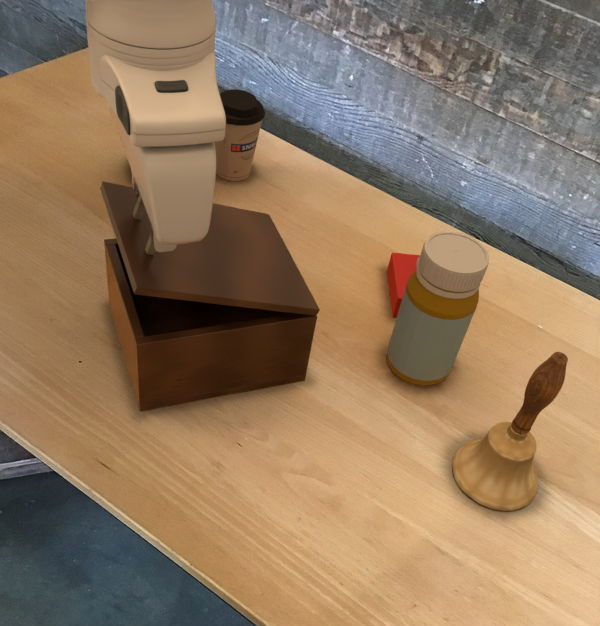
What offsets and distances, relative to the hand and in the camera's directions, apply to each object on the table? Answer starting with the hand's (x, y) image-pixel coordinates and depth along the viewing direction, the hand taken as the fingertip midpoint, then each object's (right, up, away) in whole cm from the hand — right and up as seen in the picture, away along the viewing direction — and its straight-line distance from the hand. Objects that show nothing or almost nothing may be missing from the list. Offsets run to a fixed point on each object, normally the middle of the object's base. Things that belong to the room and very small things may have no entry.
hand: (153, 220), depth 65 cm
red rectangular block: (+26, -4, +23) cm, 35 cm away
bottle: (+25, -12, +16) cm, 32 cm away
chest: (+3, -10, +14) cm, 17 cm away
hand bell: (+31, -23, +7) cm, 39 cm away
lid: (+4, -2, +5) cm, 7 cm away
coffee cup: (+4, +15, +35) cm, 38 cm away
